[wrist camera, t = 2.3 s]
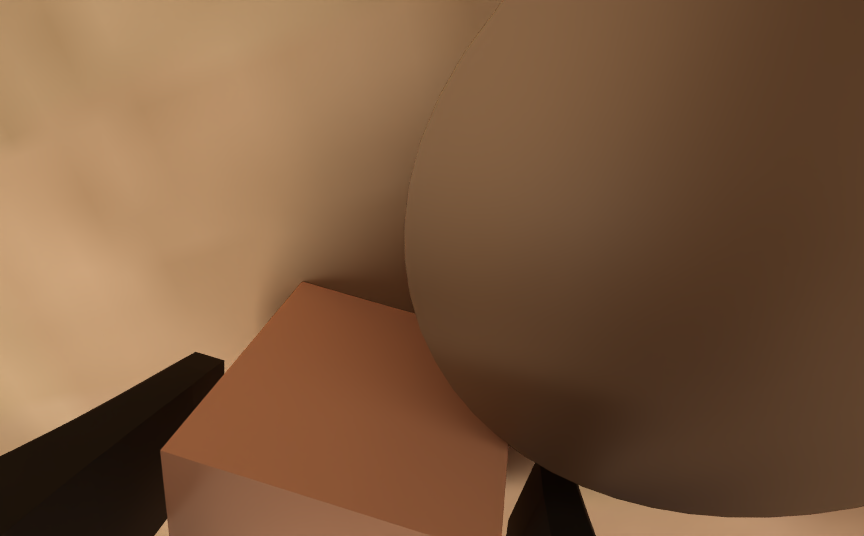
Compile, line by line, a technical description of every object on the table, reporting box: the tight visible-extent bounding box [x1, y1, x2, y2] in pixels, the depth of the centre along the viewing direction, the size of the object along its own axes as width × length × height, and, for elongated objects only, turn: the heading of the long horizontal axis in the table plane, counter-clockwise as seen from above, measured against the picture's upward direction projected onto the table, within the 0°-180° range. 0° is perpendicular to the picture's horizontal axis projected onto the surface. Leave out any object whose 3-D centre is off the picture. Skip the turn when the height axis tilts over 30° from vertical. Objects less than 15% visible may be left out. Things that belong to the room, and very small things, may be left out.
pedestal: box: [404, 0, 864, 517], centre depth 7 cm, size 8×8×3 cm
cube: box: [160, 282, 509, 536], centre depth 9 cm, size 4×4×4 cm
